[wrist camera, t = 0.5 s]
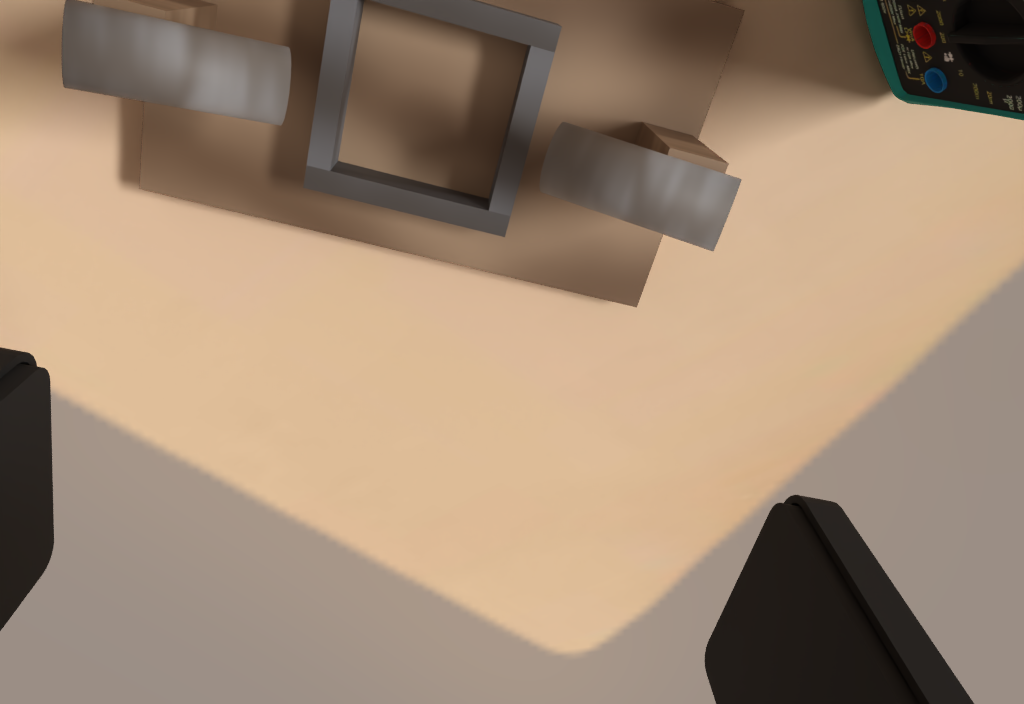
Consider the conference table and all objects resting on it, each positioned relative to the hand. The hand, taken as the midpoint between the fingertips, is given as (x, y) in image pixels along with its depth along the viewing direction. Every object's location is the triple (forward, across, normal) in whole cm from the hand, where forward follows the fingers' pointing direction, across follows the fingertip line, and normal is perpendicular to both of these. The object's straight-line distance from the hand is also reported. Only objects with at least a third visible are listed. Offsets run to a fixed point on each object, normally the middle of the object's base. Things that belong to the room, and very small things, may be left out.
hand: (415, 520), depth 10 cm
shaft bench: (+28, +2, -1) cm, 29 cm away
